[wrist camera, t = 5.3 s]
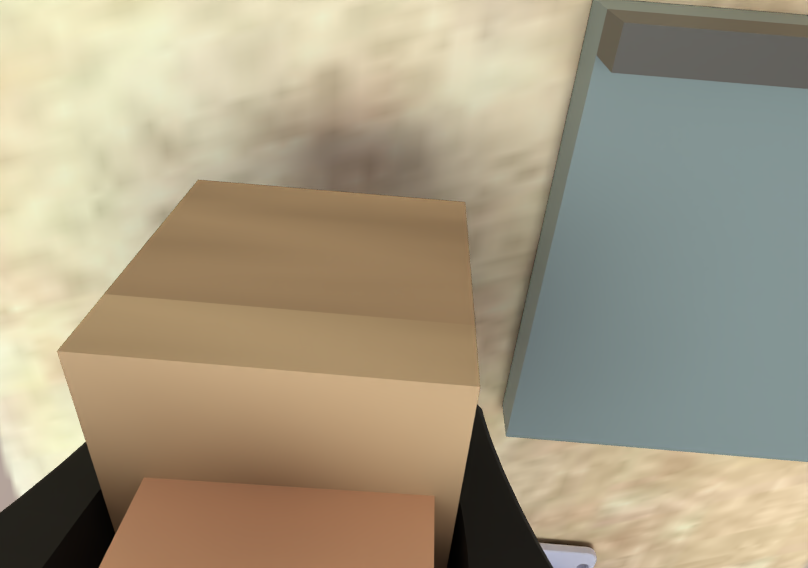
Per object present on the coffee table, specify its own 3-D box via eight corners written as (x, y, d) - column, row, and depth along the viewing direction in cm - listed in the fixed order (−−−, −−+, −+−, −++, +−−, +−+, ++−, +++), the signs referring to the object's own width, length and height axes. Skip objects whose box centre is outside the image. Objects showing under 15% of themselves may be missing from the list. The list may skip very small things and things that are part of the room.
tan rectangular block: (427, 482, 16) (422, 698, 12) (234, 466, 16) (160, 675, 12) (465, 201, 11) (479, 387, 7) (198, 180, 11) (56, 351, 7)
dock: (796, 430, 23) (840, 499, 20) (502, 405, 23) (509, 470, 20) (1044, 34, 15) (1166, 67, 12) (593, -3, 15) (624, 22, 12)
